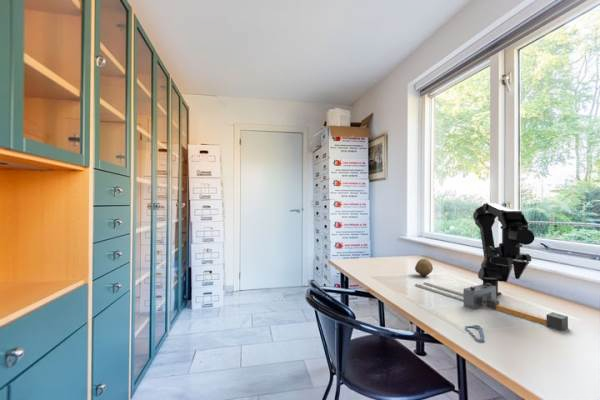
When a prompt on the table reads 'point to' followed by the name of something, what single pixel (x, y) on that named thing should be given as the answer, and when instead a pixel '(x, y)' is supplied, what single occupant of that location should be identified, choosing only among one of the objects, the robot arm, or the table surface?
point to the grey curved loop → (479, 331)
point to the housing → (469, 294)
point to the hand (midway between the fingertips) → (511, 280)
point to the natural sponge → (424, 267)
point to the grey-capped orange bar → (533, 316)
